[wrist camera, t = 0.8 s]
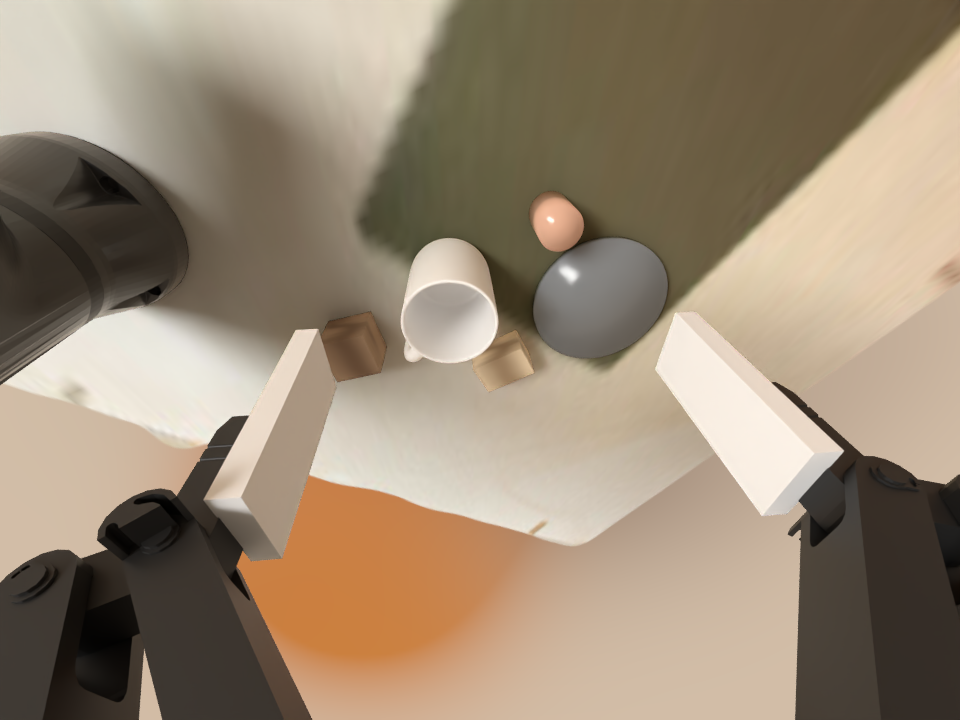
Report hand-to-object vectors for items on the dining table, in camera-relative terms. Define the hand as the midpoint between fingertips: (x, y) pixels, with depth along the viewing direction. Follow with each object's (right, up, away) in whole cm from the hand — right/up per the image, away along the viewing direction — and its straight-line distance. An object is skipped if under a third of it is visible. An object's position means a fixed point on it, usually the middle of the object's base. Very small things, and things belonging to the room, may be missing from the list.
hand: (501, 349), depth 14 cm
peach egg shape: (+6, +14, +23) cm, 27 cm away
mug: (-5, +8, +27) cm, 28 cm away
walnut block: (-15, +3, +30) cm, 33 cm away
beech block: (+2, +1, +32) cm, 33 cm away
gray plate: (+13, +6, +29) cm, 32 cm away
